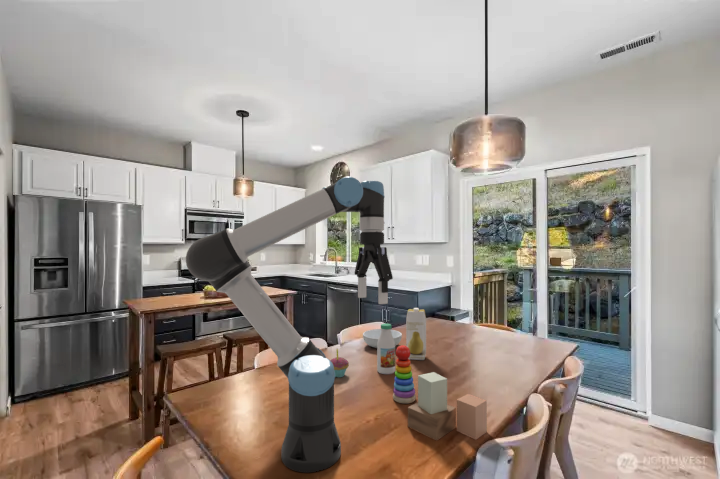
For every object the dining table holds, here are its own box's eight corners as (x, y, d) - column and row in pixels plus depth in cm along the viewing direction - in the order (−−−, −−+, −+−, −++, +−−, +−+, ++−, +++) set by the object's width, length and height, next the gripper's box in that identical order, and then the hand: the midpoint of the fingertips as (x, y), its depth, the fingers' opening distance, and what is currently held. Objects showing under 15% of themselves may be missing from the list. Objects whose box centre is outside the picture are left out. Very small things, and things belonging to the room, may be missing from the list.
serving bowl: (357, 342, 191) (357, 330, 191) (392, 339, 197) (392, 327, 197) (370, 354, 171) (370, 340, 171) (408, 350, 177) (408, 336, 177)
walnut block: (436, 441, 95) (436, 419, 95) (408, 427, 102) (407, 407, 102) (456, 428, 102) (455, 407, 102) (427, 416, 109) (427, 397, 109)
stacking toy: (400, 392, 126) (400, 341, 126) (420, 398, 121) (419, 345, 121) (388, 400, 120) (388, 345, 120) (408, 406, 114) (408, 350, 115)
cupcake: (345, 380, 138) (345, 349, 138) (325, 378, 139) (325, 348, 140) (350, 372, 146) (350, 343, 146) (331, 370, 148) (331, 342, 148)
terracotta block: (475, 439, 95) (475, 406, 95) (456, 430, 100) (456, 399, 100) (486, 431, 99) (486, 400, 99) (468, 423, 104) (467, 393, 104)
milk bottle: (374, 372, 145) (374, 325, 146) (381, 367, 152) (381, 321, 153) (391, 376, 142) (391, 327, 142) (398, 370, 149) (397, 323, 149)
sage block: (431, 414, 98) (431, 382, 98) (418, 405, 103) (418, 375, 103) (447, 409, 100) (447, 378, 101) (433, 401, 106) (433, 372, 106)
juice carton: (406, 360, 162) (406, 308, 162) (406, 354, 169) (406, 305, 170) (426, 361, 160) (426, 309, 160) (426, 355, 168) (425, 306, 168)
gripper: (404, 230, 97) (404, 305, 97) (364, 233, 119) (364, 294, 119) (381, 229, 94) (381, 307, 93) (344, 232, 116) (344, 295, 116)
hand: (372, 300), depth 106 cm, fingers open, 13 cm apart
